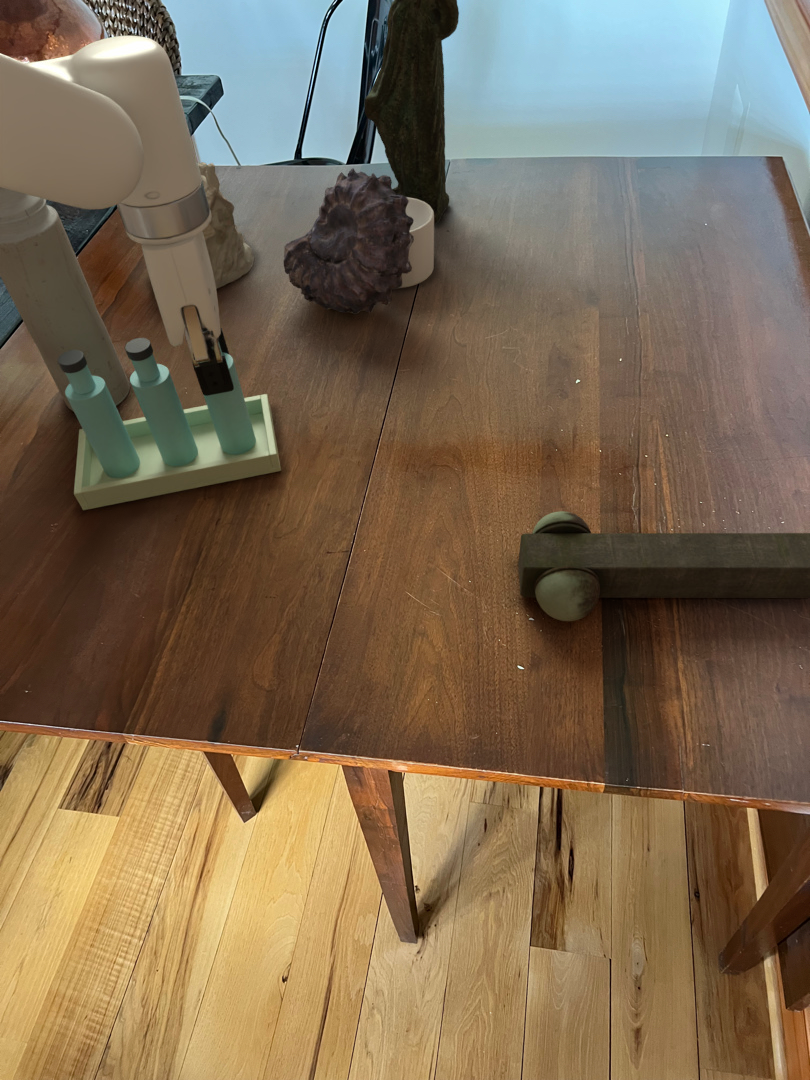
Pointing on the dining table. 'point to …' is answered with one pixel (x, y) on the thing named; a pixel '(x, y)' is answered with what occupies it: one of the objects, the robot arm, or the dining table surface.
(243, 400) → the bottle
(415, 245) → the mug
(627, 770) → the dining table surface
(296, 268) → the seashell
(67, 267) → the thermos bottle
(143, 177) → the robot arm
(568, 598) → the post
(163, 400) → the tray bottle
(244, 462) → the tray
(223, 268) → the ceramic cottage
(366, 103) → the statue
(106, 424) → the tray bottle
